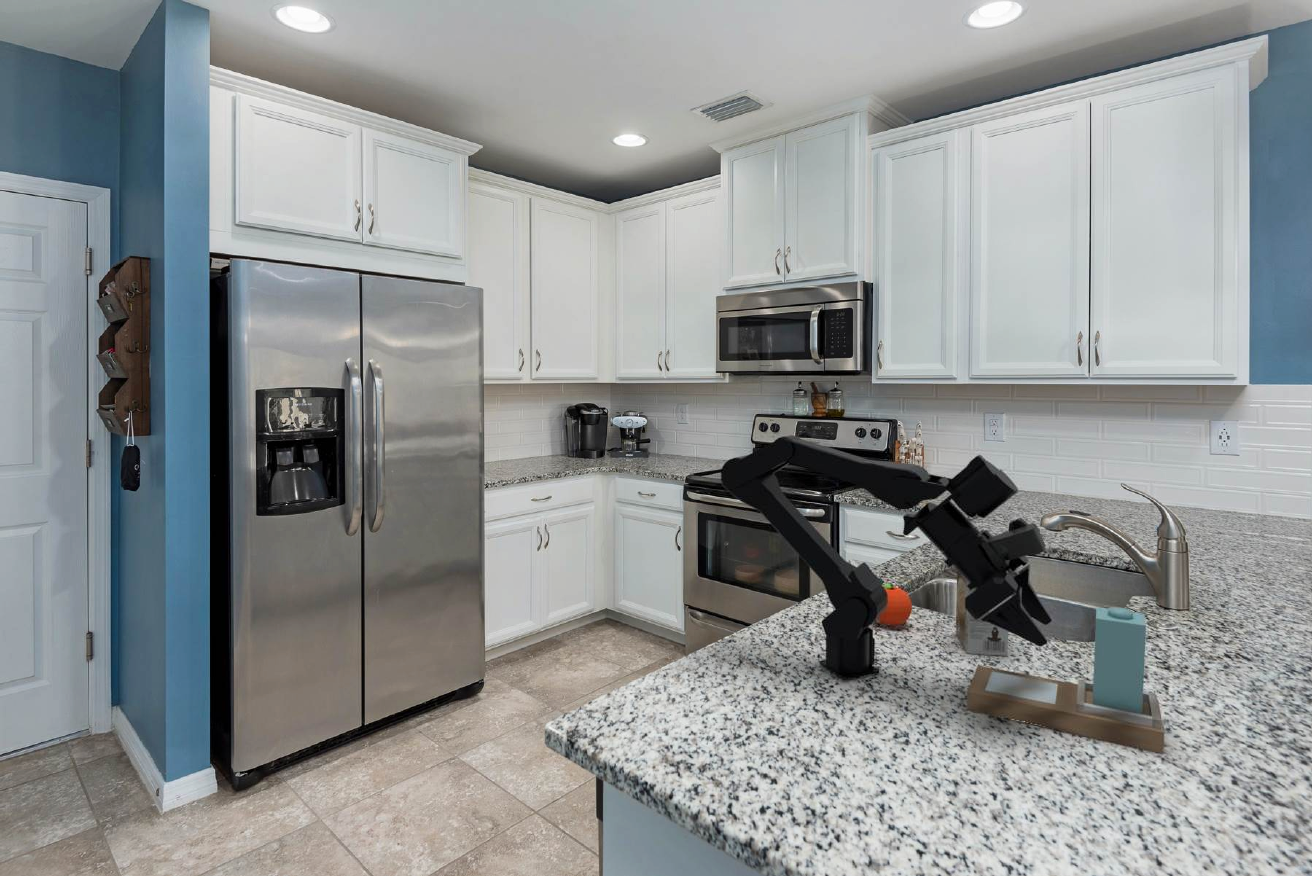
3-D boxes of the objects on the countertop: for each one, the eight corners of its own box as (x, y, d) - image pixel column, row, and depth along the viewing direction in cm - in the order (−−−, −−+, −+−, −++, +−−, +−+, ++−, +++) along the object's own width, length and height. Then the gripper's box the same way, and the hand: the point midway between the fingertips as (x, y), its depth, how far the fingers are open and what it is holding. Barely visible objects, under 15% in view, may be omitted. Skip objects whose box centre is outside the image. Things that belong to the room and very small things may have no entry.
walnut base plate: (966, 709, 92) (967, 684, 92) (977, 682, 100) (978, 658, 100) (1163, 753, 81) (1164, 724, 80) (1157, 718, 89) (1158, 691, 89)
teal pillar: (1092, 709, 86) (1096, 612, 85) (1092, 694, 91) (1096, 601, 90) (1141, 719, 84) (1146, 619, 83) (1139, 703, 88) (1143, 608, 87)
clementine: (858, 620, 127) (858, 581, 127) (887, 614, 130) (888, 577, 130) (890, 634, 120) (890, 593, 119) (920, 627, 123) (921, 588, 122)
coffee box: (954, 634, 120) (956, 541, 118) (994, 636, 118) (996, 543, 117) (966, 654, 111) (969, 554, 109) (1010, 657, 109) (1013, 556, 108)
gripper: (997, 513, 84) (1101, 618, 79) (1013, 492, 100) (1100, 579, 95) (926, 568, 89) (1020, 670, 84) (952, 540, 105) (1033, 625, 100)
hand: (1046, 633), depth 91 cm, fingers open, 9 cm apart
